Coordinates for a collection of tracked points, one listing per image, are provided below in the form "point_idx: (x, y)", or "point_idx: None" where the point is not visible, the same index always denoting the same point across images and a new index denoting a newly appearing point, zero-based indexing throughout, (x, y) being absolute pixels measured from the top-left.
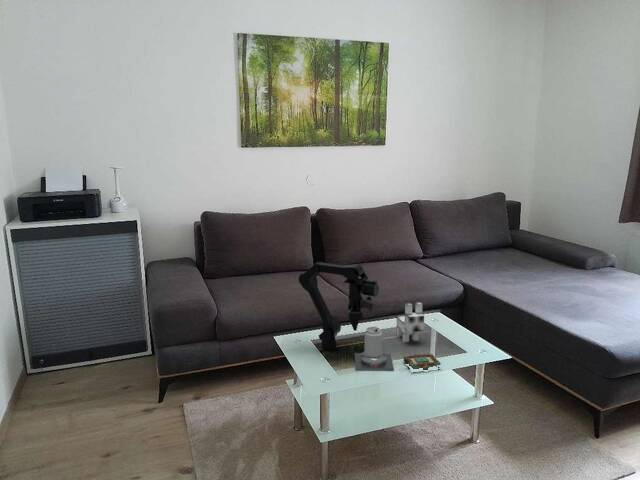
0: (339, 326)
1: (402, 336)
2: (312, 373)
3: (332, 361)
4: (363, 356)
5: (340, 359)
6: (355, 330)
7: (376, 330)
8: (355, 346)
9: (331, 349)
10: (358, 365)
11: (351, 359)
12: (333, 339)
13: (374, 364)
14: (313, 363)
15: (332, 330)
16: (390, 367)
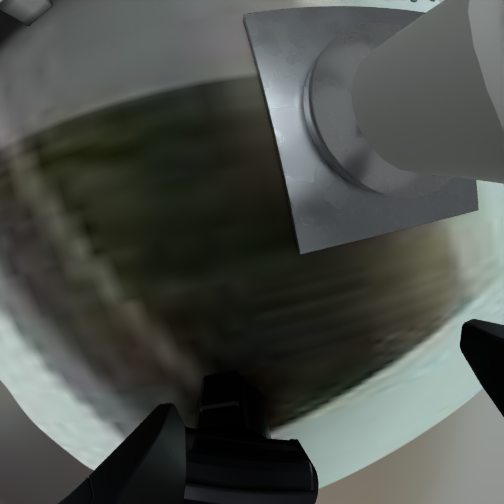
0: (206, 475)
1: (15, 13)
2: None
3: (393, 344)
4: (435, 176)
5: (369, 315)
6: (472, 328)
7: (462, 18)
8: (154, 273)
9: (257, 391)
10: (455, 198)
11: (361, 256)
12: (247, 426)
13: None
14: (410, 401)
15: (309, 487)
16: None
